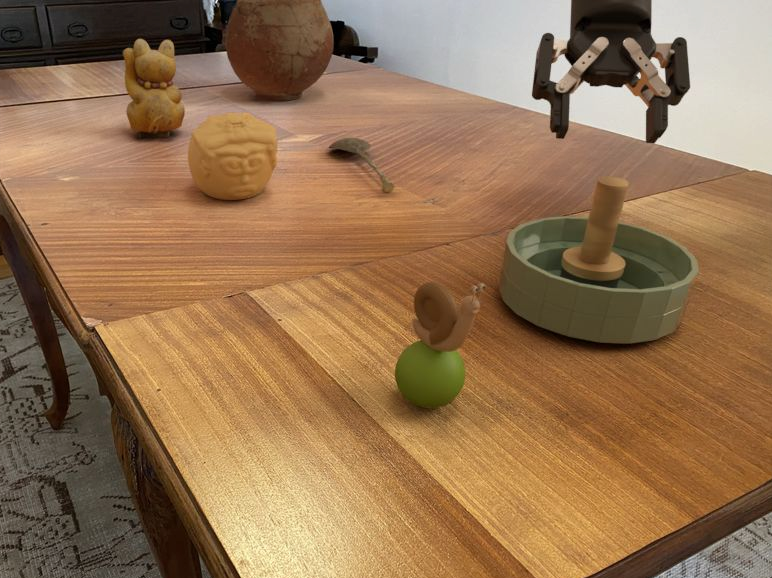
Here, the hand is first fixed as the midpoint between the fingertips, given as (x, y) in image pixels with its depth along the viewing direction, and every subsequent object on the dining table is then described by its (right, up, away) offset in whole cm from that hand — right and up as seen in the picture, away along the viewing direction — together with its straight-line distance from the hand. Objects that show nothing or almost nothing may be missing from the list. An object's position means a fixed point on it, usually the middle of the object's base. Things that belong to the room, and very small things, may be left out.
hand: (607, 137), depth 68 cm
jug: (-35, +32, +78) cm, 91 cm away
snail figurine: (-19, -25, -12) cm, 34 cm away
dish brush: (0, -14, +4) cm, 15 cm away
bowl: (-1, -16, +3) cm, 16 cm away
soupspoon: (-21, +7, +38) cm, 44 cm away
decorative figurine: (-55, +16, +53) cm, 77 cm away
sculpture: (-39, +1, +29) cm, 49 cm away
